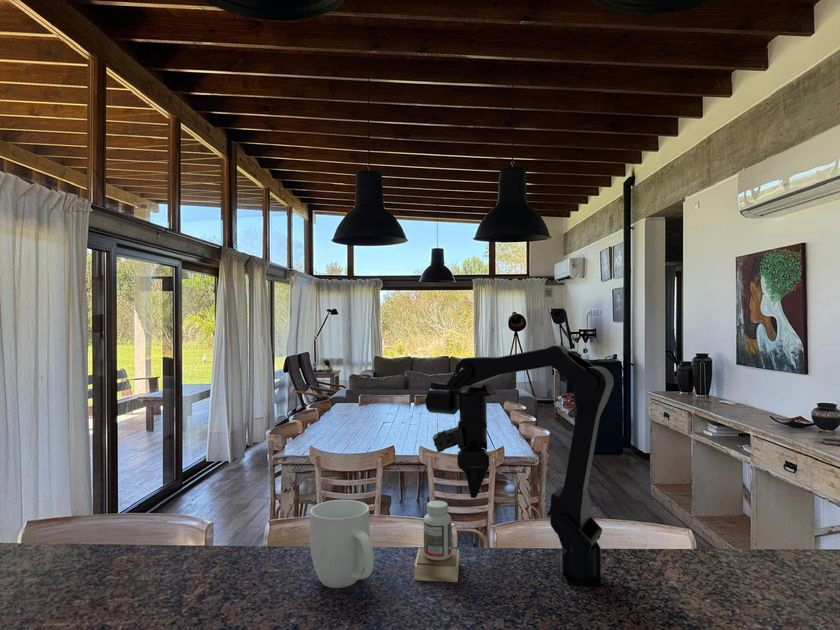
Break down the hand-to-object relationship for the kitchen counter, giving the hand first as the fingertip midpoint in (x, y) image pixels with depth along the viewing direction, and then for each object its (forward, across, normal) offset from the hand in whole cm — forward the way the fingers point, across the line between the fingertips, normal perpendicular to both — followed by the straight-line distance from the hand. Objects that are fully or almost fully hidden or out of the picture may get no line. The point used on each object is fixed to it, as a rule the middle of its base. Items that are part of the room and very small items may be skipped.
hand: (473, 490), depth 108 cm
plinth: (+12, +10, -7) cm, 17 cm away
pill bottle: (+10, +10, -7) cm, 16 cm away
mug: (+13, +16, -24) cm, 32 cm away
